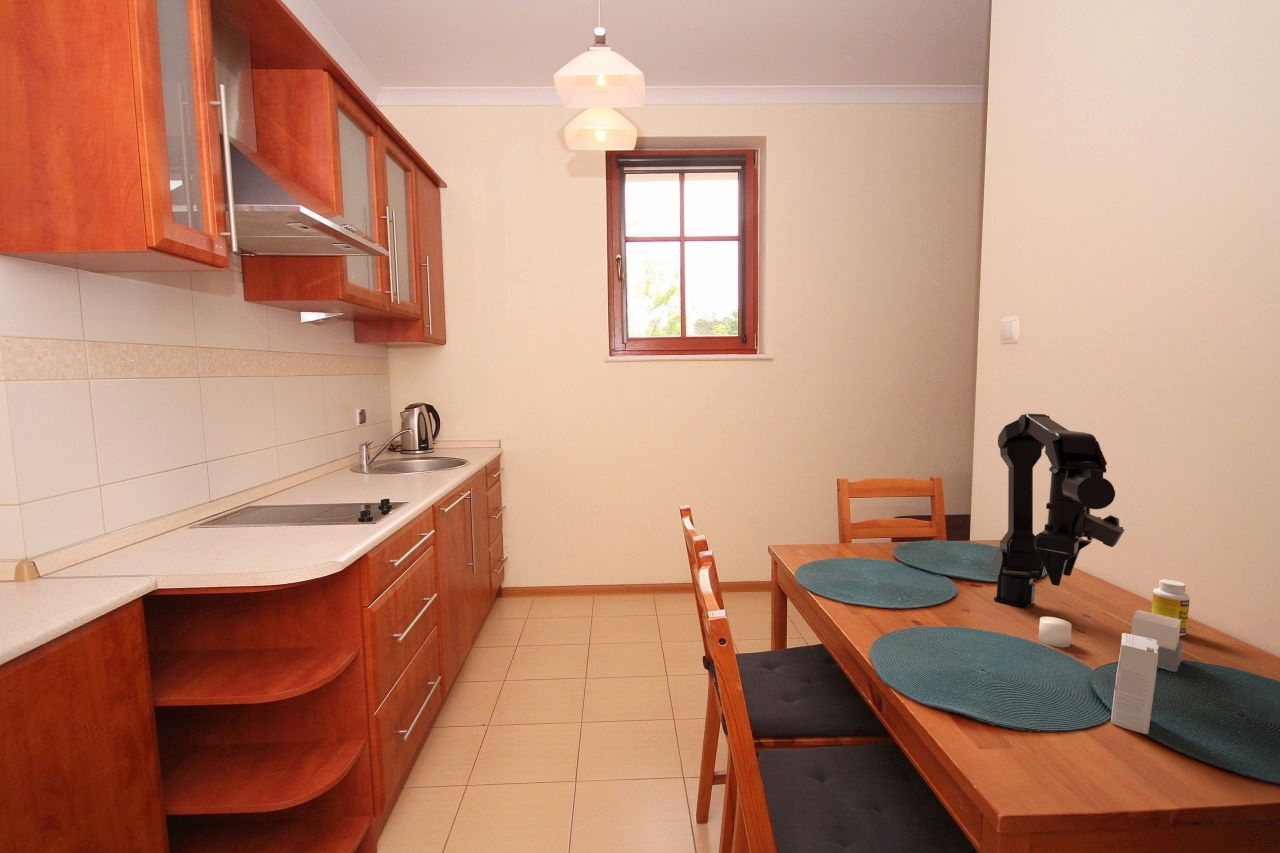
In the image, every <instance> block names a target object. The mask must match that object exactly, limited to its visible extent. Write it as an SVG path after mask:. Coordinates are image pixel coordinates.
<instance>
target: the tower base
mask: <svg viewBox="0 0 1280 853" xmlns="http://www.w3.org/2000/svg"><path fill="white" fill-rule="evenodd" d="M1129 634H1131V632H1130V633H1129ZM1183 647H1184V641H1183V640H1180V639H1179V642H1178V644H1177V647H1176V649H1175V651H1174V650H1170V649H1167V648H1163V647H1159V648H1158V664H1157V665H1159V666H1164V667H1167V668H1172V669H1175V670H1177V669H1178V665H1179V662H1180V661H1181V662H1182V657H1183ZM1178 670H1179V669H1178Z"/></svg>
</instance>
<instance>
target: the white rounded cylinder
mask: <svg viewBox="0 0 1280 853" xmlns="http://www.w3.org/2000/svg"><path fill="white" fill-rule="evenodd" d="M1072 626H1073V625H1072V623H1071V622H1069V621H1067V620H1065V619H1061V618H1059V617H1054V616H1041V617H1039V628H1038V640H1039V641H1040V642H1041V643H1043V644H1046V645H1049V646H1052V647H1057V648H1069V647H1071V638H1072V628H1073V627H1072Z"/></svg>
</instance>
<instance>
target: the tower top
mask: <svg viewBox="0 0 1280 853" xmlns="http://www.w3.org/2000/svg"><path fill="white" fill-rule="evenodd" d="M1180 624H1181V620H1180V619H1176V618H1172V617H1167V616H1163V615H1158V614H1154V613H1151V612H1150V611H1145V610H1141V609H1137V610H1136V612H1135V613H1134V615H1133V616H1132V619H1131V632H1130V633H1131V634H1132V635H1137V636H1141V637H1146V638H1150V639H1155V640H1157V641H1158V646H1159V647H1163V648H1167V649H1170V650H1174V651H1175V649H1176V647H1177V644H1178V642H1179V640H1180V636H1179V634H1180Z"/></svg>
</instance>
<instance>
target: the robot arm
mask: <svg viewBox="0 0 1280 853" xmlns="http://www.w3.org/2000/svg"><path fill="white" fill-rule="evenodd" d="M997 446H998V448H999V452H1000V457H1001V459H1002V460H1003V462H1004V464H1005V465H1006V466H1007V468H1008V471H1007V472H1008V474H1007V475H1008V482H1007V483H1008V484H1007V485H1008V486H1007V487H1008V488H1007V489H1008V490H1007V491H1008V501H1007V506H1008V508H1007V510H1008V512H1007V517H1008V518H1007V525H1008V526H1007V528H1008V529H1007V532H1006V533H1005V534H1004V535H1003V537H1002V539H1001V540H1000V541H999V549H998V550H997V552H996V554H995V555H994V556H993V558H992V559H991V570H992V572H993V573H994V574H995V575H997V584H996V596H995V597H993V601H995V602H999V603H1003V604H1007V605H1012V606H1015V607H1019V608H1023V609H1027V608H1028V607H1029V606H1031V605H1032V604H1033V603H1034V602H1035V599H1036V598H1035V596H1036V595H1035V594H1036V584H1035V583H1034V580H1041V578H1042V575H1043V572H1044V568H1045V572H1046V573H1047V575H1048V578H1049V580H1050V583H1051V585H1052V586H1057V587H1058V586H1060V585H1061V581H1062V579H1063V576H1067V577H1070V576H1072V573H1073V570H1074V568H1075V565H1076V561H1077V560H1078V556H1079V554H1080V551H1081V550H1082V549H1083V548H1086V547H1087V546H1088V545H1090V544H1091V543H1092V541H1093V540H1094V539H1095V540H1097V541H1099V542H1102V544H1103V545H1104V546H1107V547H1110V548H1114V547H1115V546H1116V545H1117V544H1118V542H1119V540H1120V538H1121V536H1122V535H1123V533H1124V532H1125V529H1124V527H1123V526H1120V518H1118V517H1116V516H1115V515H1111V514H1110V515H1107V516H1106V517H1104V518H1102V517H1101V516H1096V515H1093V514H1091V510H1102V509H1105V508H1107V507H1108V506H1110V505H1111V504H1112V503H1113V501H1114V500H1115V498H1116V490H1115V488H1114V485H1113V484H1112V482H1111V481H1109V480H1108V479H1106V478H1104V473H1106V472H1107V468H1106V467H1107V465H1108V462H1107V460H1106V458H1105V455H1104V454H1103V451H1102V449H1101V446H1100V442H1099V441H1098V440H1097V438H1096V437H1095V436H1094V435H1093V434H1092V433H1087V432H1084V431H1083V432H1082V431H1073V430H1069V429H1067V427H1066V428H1065V426H1062V425H1061V424H1060V423H1058V422H1056V421H1055V420H1053V419H1051V417H1050V416H1049V415H1046V414H1045V413H1024V414H1021V415H1020V416H1019V417H1018V419H1017V420H1014V421H1012V422H1010V423H1008V424H1006V425H1004V427H1003V428H1002V429H1001V431H1000V433H999V434H998V436H997ZM1043 449H1044V454H1045V455H1046V456H1047V458H1048V461H1049V462H1050V465H1051V466H1050V467H1049V470H1048V471H1049V472H1050V473H1051V474H1050V488H1049V490H1050V491H1049V501H1048V502H1047V503H1046V505H1045V509H1046V510H1048V514H1047V515H1048V516H1047V523H1045V524H1044V530H1042V531H1041V532H1039V533H1037V534H1036V535H1035V533H1034V526H1033V525H1034V520H1033V519H1034V515H1033V514H1034V512H1033V510H1034V509H1033V508H1034V495H1033V494H1034V486H1033V485H1034V484H1033V483H1034V474H1033V472H1034V471H1033V470H1034V466H1036V464H1037V463H1038V462H1039V460H1040V459H1041V458H1042V453H1043V452H1042V450H1043ZM1084 538H1086V539H1084Z"/></svg>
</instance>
